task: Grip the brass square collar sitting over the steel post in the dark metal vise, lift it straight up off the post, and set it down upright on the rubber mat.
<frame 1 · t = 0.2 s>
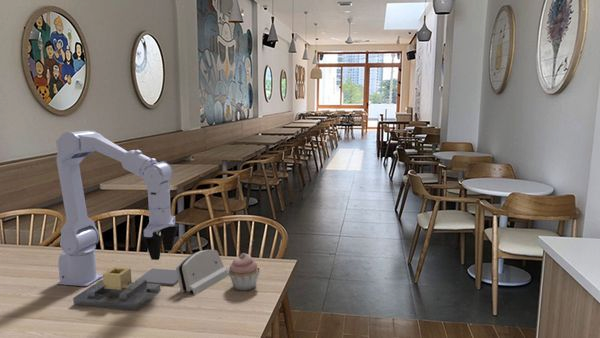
hand: (161, 254, 126), 10 cm above the table, tool pointing down, fingers open, 7 cm apart
vise: (118, 297, 121), on the table
cupcake: (244, 287, 129), on the table
mat: (162, 277, 135), on the table
hinge: (202, 283, 132), on the table
collar: (117, 285, 121), point 3 cm above the table, touching vise
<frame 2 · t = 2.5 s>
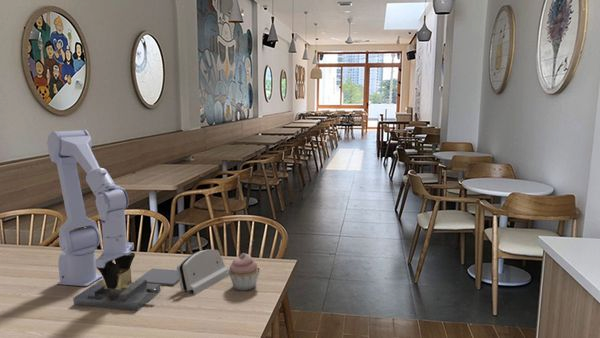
hand: (117, 284, 121), 4 cm above the table, tool pointing down, fingers closed on collar, 5 cm apart
collar: (117, 285, 121), point 3 cm above the table, touching gripper, vise
everything else where it was.
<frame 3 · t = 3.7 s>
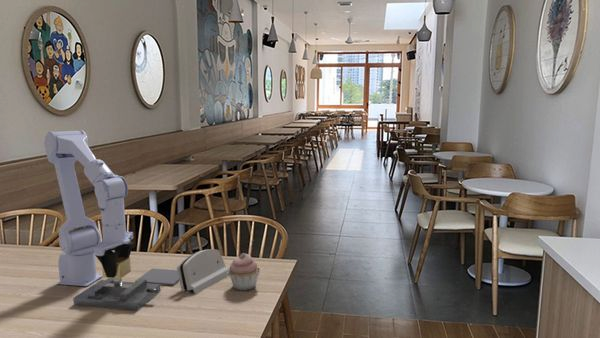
hand: (116, 272, 120), 7 cm above the table, tool pointing down, fingers closed on collar, 5 cm apart
collar: (117, 274, 120), point 7 cm above the table, touching gripper
everything else where it was.
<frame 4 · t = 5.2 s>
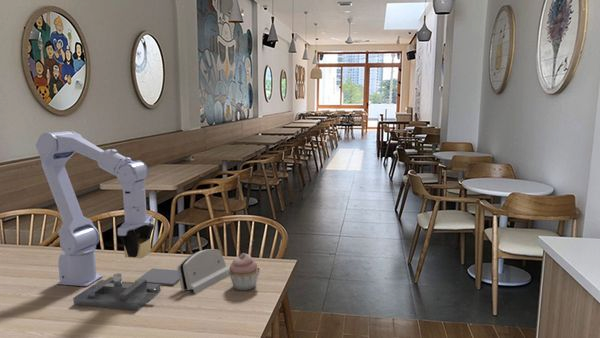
hand: (137, 253, 126), 10 cm above the table, tool pointing down, fingers closed on collar, 5 cm apart
collar: (138, 254, 126), point 10 cm above the table, touching gripper
everything else where it was.
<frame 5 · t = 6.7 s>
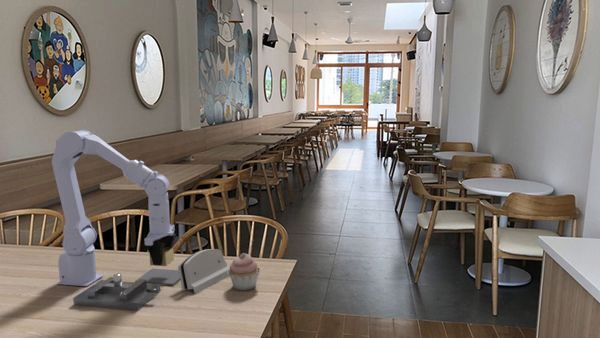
hand: (161, 261, 134), 5 cm above the table, tool pointing down, fingers closed on collar, 5 cm apart
collar: (162, 262, 134), point 5 cm above the table, touching gripper
everything else where it was.
when the fingers open (2 cm above the table, at t = 8.1 s): collar drops 1 cm, resting on mat.
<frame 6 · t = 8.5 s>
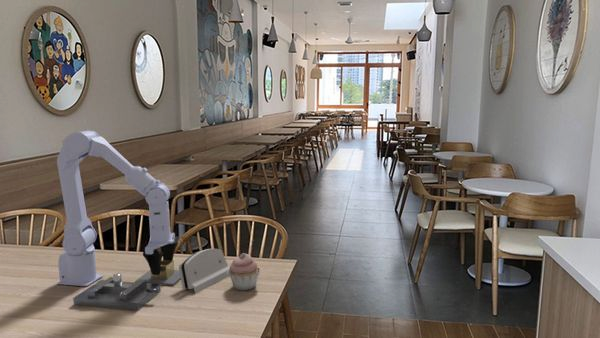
hand: (162, 269, 135), 3 cm above the table, tool pointing down, fingers open, 7 cm apart
collar: (162, 275, 135), point 1 cm above the table, touching mat
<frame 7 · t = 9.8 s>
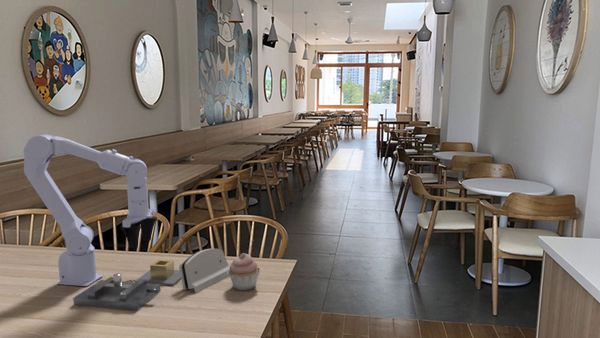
hand: (140, 244, 137), 9 cm above the table, tool pointing down, fingers open, 7 cm apart
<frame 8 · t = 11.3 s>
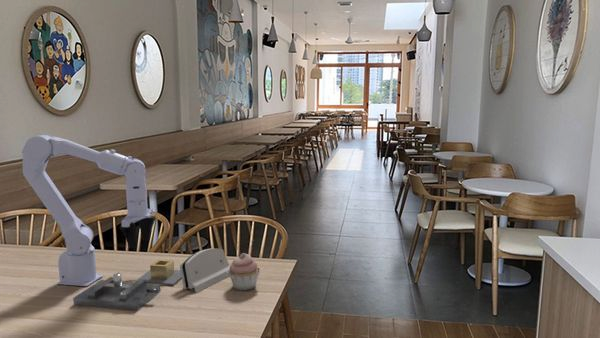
hand: (139, 243, 137), 9 cm above the table, tool pointing down, fingers open, 7 cm apart
at the end: collar 0.1 cm off-centre on the mat, point 0.6 cm above the mat's base; collar tilted 0°; the gripper is holding nothing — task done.
